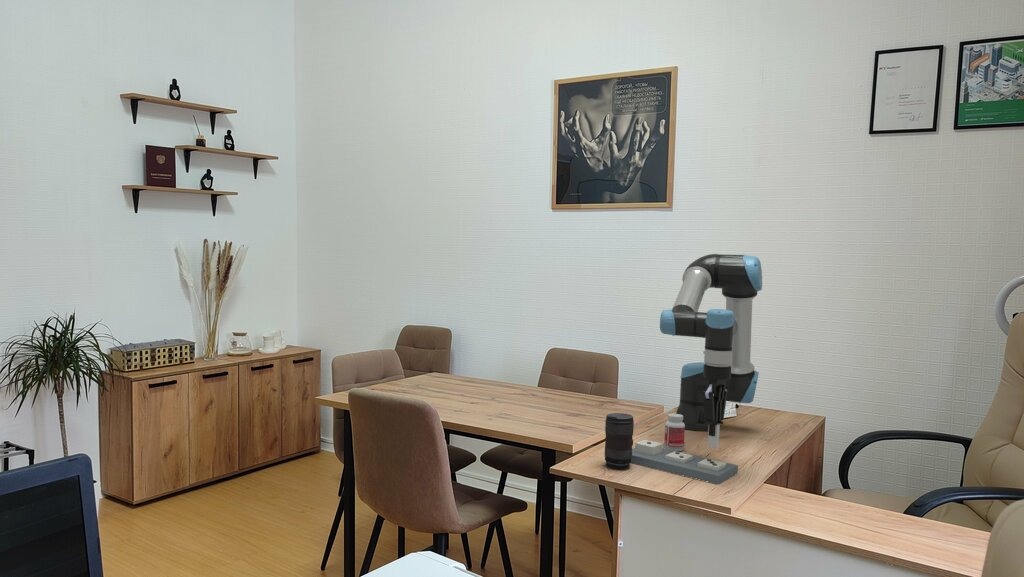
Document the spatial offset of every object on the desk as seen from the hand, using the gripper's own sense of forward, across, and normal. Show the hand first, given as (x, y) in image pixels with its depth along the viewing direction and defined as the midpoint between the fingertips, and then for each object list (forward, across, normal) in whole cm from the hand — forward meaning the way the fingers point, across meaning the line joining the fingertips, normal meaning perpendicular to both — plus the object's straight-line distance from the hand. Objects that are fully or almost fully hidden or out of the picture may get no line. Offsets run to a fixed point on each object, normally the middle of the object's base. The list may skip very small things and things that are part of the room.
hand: (712, 446), depth 206 cm
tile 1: (+7, +1, -20) cm, 21 cm away
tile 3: (+8, +1, 0) cm, 8 cm away
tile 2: (+8, +1, -10) cm, 13 cm away
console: (+8, +1, -10) cm, 13 cm away
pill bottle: (+9, -16, -20) cm, 27 cm away
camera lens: (+8, +14, -23) cm, 28 cm away
